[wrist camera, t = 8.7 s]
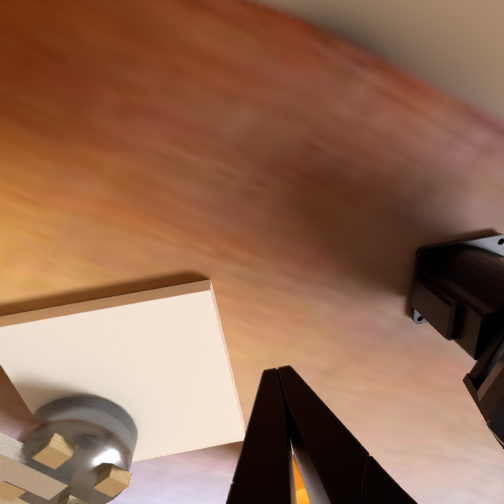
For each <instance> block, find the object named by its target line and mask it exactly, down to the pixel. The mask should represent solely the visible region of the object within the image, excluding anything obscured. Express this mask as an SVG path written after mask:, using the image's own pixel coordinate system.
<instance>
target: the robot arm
mask: <svg viewBox="0 0 504 504" xmlns="http://www.w3.org/2000/svg"><path fill="white" fill-rule="evenodd" d="M498 240H499V241H498ZM425 252H426V254H425V255H424V256H423V254H424V253H425ZM411 306H412V310H411V319H412V320H413V321H414V322H415V323H417V324H421V323H427V322H429V323H430V324H431V325H432V326H433V327H434V328H435V329H436V330H437V331H438V332H439V333H440V334H441V335H442V336H443V337H444V338H446V339H447V340H449V341H450V340H454V341H455V342H456V343H457V344H458V345H459V346H460V347H461V348H462V349H463V350H465V351H466V352H467V353H468V354H469V355H470V356H471V357H472V358H473V359H474V360H478V361H477V362H476V364H475V365H474V367H473V368H472V370H471V371H470V373H467V374H466V376H465V377H464V379H463V382H464V384H465V386H466V387H467V389H468V391H469V393H470V394H471V396H472V398H473V400H474V402H475V403H476V405H477V407H478V409H479V410H480V412H481V414H482V416H483V417H484V419H485V421H486V423H487V426H488V428H489V430H490V431H491V432H492V433H493V435H494V436H495V438H496V439H497V441H498V442H499V444H500V445H501V446H502V447H503V449H504V235H503V234H501V233H496V234H491V235H485V236H479V237H474V238H468V239H462V240H457V241H451V242H445V243H440V244H434V245H428V246H423V247H420V248H419V249H418V250H417V252H416V260H415V272H414V278H413V284H412V297H411ZM419 316H420V317H419ZM418 317H419V318H418ZM290 440H291V441H290ZM291 444H292V448H293V452H294V455H295V458H296V461H297V465H298V468H299V471H300V474H301V477H302V480H303V483H304V486H305V489H306V492H307V495H308V498H309V502H310V504H418V503H417V502H416V501H415V500H414V499H413V498H412V497H410V496H409V495H408V494H407V493H406V492H405V491H404V490H403V489H402V488H401V487H400V486H399V485H398V484H397V483H396V482H395V480H394V479H393V478H392V477H391V476H390V475H389V474H388V473H387V472H386V471H385V470H384V469H383V468H382V467H381V466H380V464H379V463H378V462H377V461H376V460H375V459H374V458H373V457H372V456H370V454H369V452H368V451H367V450H366V449H365V448H364V447H363V446H362V445H361V443H360V442H359V441H358V440H357V439H356V438H355V437H354V436H353V435H352V433H351V432H350V431H349V430H348V429H347V428H346V427H345V426H344V425H343V423H342V422H341V421H340V420H339V419H338V418H337V417H336V416H335V415H334V413H333V412H332V411H331V410H330V409H329V408H328V407H327V406H326V405H325V403H324V402H323V401H322V400H321V399H320V398H319V397H318V396H317V395H316V393H315V392H314V391H313V390H312V389H311V388H310V387H309V386H308V385H307V383H306V382H305V381H304V380H303V379H302V378H301V377H300V376H299V374H298V373H297V372H296V371H295V370H294V369H293V368H292V367H291V366H289V365H288V366H283V367H278V369H276V368H272V369H267V370H264V371H263V373H262V376H261V380H260V383H259V387H258V390H257V394H256V398H255V401H254V405H253V408H252V412H251V416H250V419H249V423H248V426H247V430H246V433H245V437H244V441H243V444H242V448H241V451H240V455H239V459H238V462H237V466H236V469H235V473H234V476H233V480H232V482H233V483H232V484H231V487H230V490H229V494H228V497H227V501H226V504H297V498H296V487H295V477H294V466H293V456H292V448H291Z"/></svg>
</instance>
